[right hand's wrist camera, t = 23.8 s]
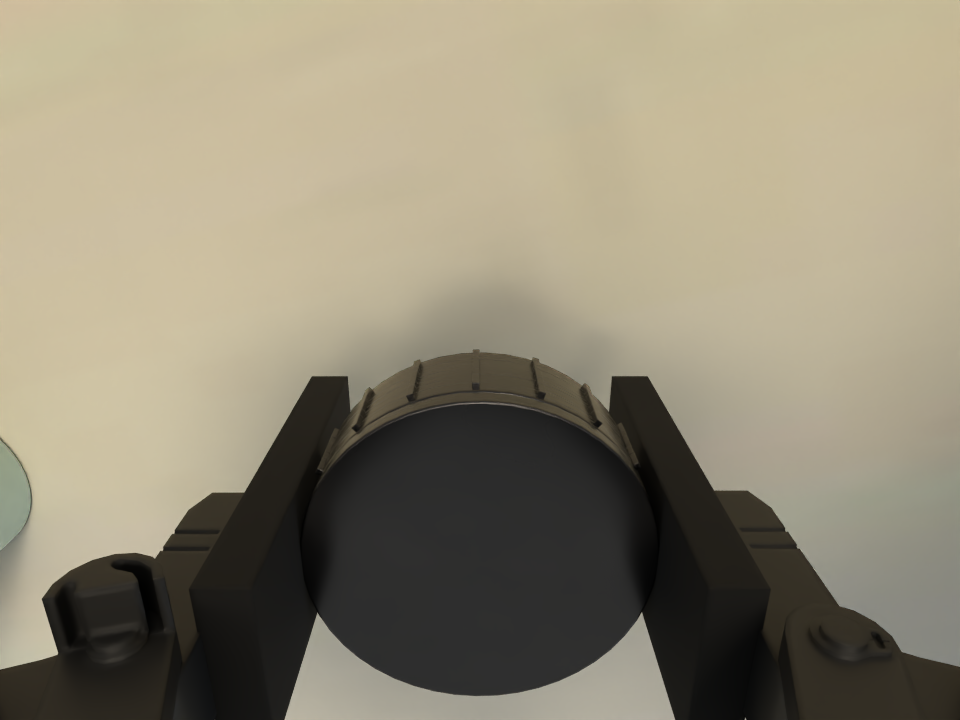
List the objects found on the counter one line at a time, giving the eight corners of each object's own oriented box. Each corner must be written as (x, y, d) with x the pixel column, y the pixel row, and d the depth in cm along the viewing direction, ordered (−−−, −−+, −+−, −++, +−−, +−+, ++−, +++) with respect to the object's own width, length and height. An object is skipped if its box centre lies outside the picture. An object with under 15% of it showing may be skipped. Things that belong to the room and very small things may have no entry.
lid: (262, 515, 13) (225, 587, 11) (454, 279, 11) (448, 318, 9) (499, 662, 14) (502, 748, 12) (703, 472, 12) (742, 539, 10)
